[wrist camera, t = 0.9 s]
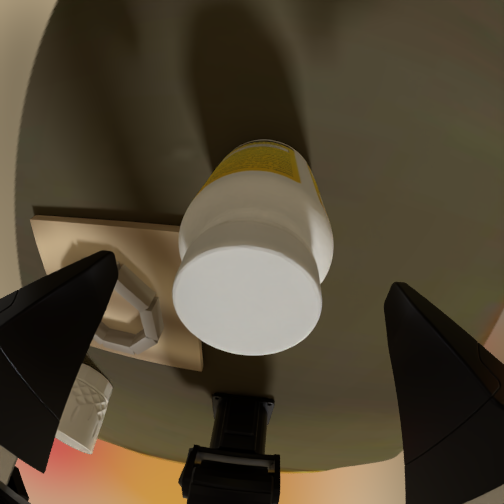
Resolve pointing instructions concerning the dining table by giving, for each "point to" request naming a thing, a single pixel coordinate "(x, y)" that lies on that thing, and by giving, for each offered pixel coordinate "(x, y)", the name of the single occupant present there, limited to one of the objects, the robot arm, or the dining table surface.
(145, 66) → the dining table surface
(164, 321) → the board
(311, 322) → the supplement bottle
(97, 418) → the white cup
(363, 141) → the dining table surface
